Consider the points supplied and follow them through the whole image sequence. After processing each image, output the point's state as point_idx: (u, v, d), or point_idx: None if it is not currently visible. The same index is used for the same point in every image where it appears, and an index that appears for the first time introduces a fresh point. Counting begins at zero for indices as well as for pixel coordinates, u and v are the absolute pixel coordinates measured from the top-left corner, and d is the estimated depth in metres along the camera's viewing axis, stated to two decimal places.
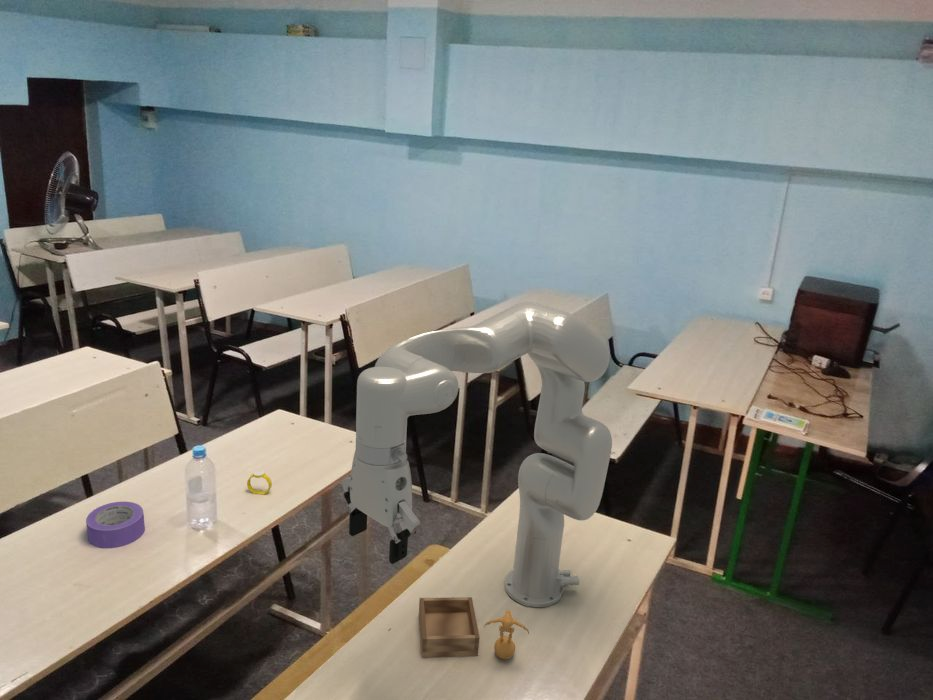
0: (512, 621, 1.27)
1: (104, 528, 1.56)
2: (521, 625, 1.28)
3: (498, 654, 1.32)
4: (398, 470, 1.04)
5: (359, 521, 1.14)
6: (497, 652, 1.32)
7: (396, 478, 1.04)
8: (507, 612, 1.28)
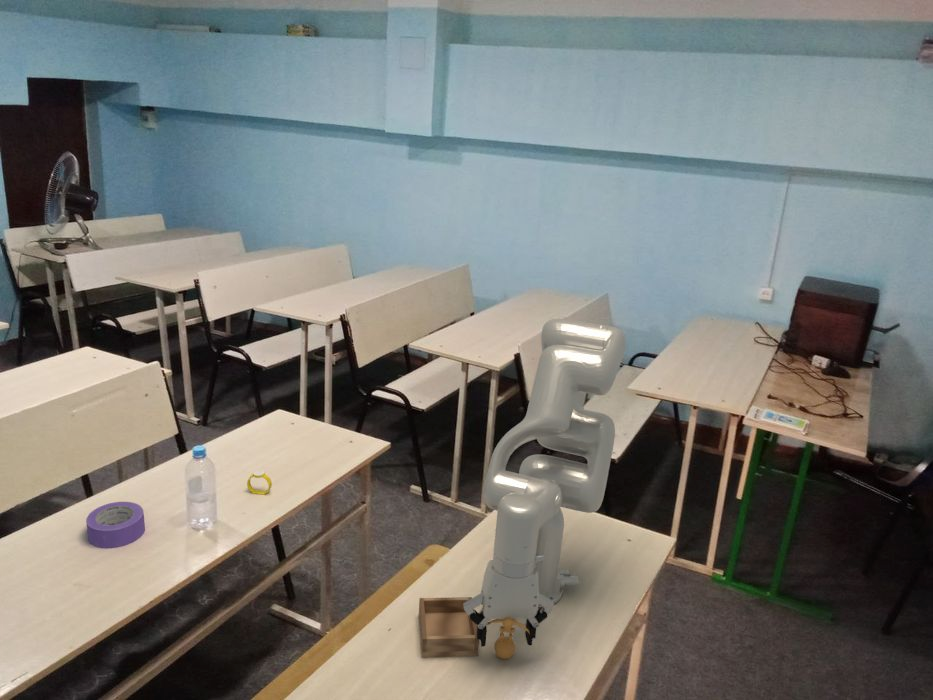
0: (512, 622, 1.27)
1: (104, 528, 1.56)
2: (522, 626, 1.28)
3: (498, 654, 1.32)
4: None
5: None
6: (497, 652, 1.32)
7: None
8: None
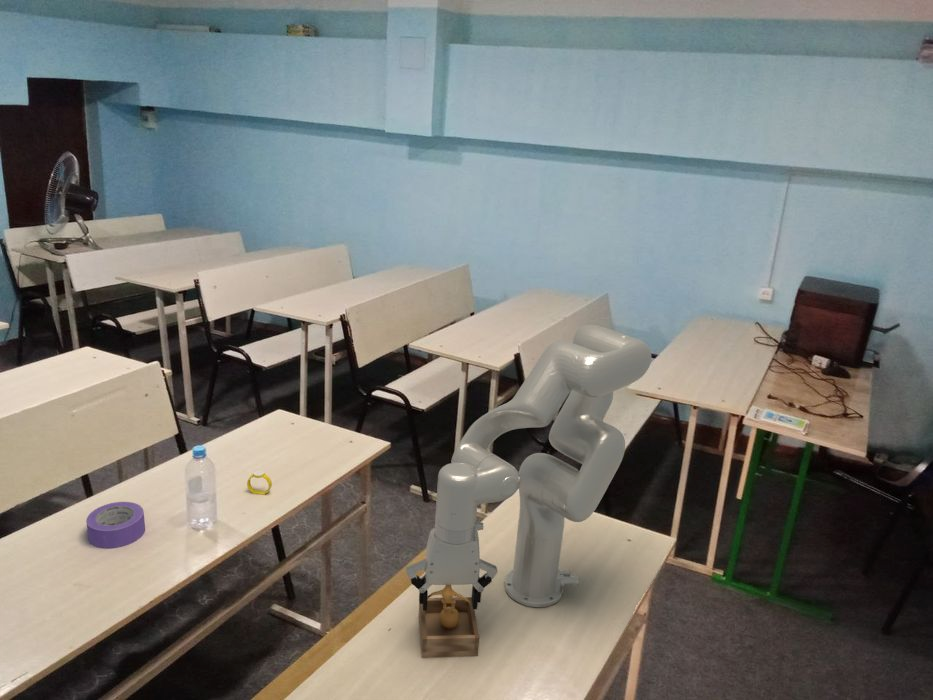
0: (451, 593, 1.32)
1: (104, 528, 1.56)
2: (461, 596, 1.32)
3: (443, 624, 1.37)
4: (478, 537, 1.31)
5: None
6: (442, 622, 1.37)
7: (478, 543, 1.31)
8: None
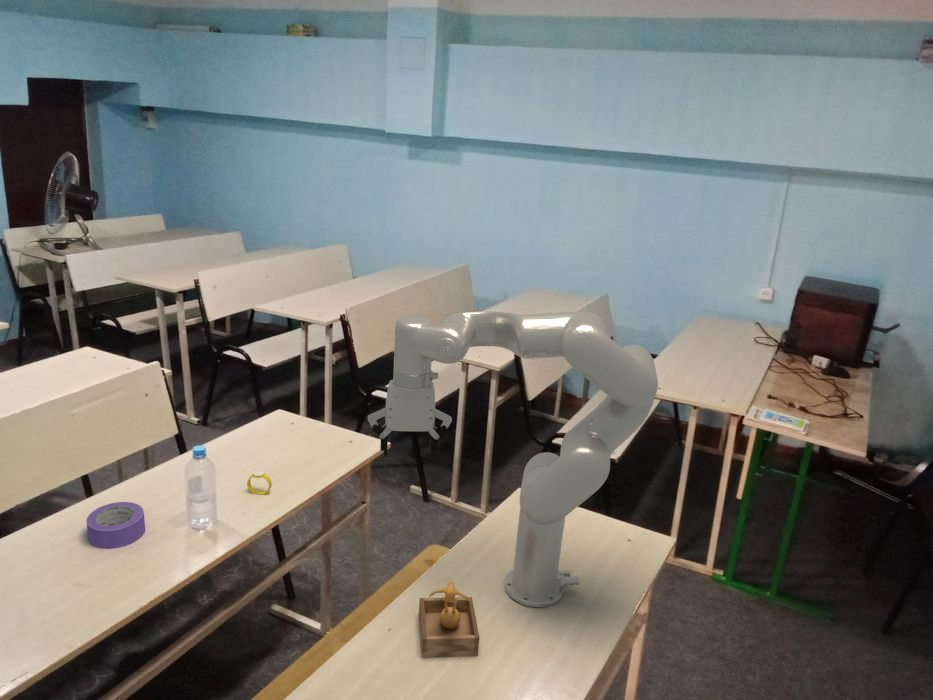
0: (454, 592, 1.32)
1: (104, 528, 1.56)
2: (463, 595, 1.33)
3: (443, 624, 1.37)
4: (433, 386, 1.44)
5: None
6: (442, 622, 1.37)
7: (434, 392, 1.44)
8: (450, 583, 1.33)
